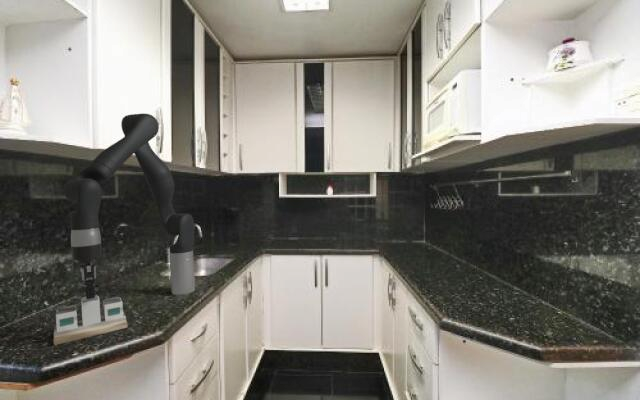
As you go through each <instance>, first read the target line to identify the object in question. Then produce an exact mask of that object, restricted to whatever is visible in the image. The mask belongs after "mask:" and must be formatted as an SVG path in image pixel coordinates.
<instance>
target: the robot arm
mask: <svg viewBox="0 0 640 400" xmlns="http://www.w3.org/2000/svg"><path fill="white" fill-rule="evenodd" d="M159 129H160V127H159V122H158V120H157V118H156V117H155V116H154V115H152V114H150V113H134V114H126V115H125V116H123V117H122V119H121V130H122V133H123V135H124V136H123V137H121V139H119V140H117V141H116V142H114V143H112V144H111V145H110V146H108V147H107V148H105V149H103V151H101V152H100V153H99V154H98V155H97V156H96V157H95V158H94V159H93V160H92V161H91V162H90V163H89V164H88V165H87V166H86V167H85V168H83V169H82V170H80V171H79V172H78V173H76V174H75V175H73V176H71V178H69V180H68V181H67V182H66V183H65V185H64V187H63V191H62V192H63V196H64V197H65V199H67V200H69V201H70V202H75V203H76V209H75V210H73V211H71V213H70V215H69V216H70V229H71V231H70V232H71V233H70V246H71V247H70V248H71V260H72V261H75V262H81V263H82V264H80V265H79V267H80V268H79V269H80V273H81V280H82V281H83V282H84V283H83V286H84V291H85V297H86V299H92V298H95V295H96V290H95V285H96V281H95V279H96V278H97V272H96V271H97V264H96V262H93V260H94V259H100V258H101V257H102V256H103V254H102V253H103V251H102V239H101V237H102V236H101V231H100V223H99V211H100V207H101V202H102V194H103V193H102V188H101V184H102V183H105V182H107V181H108V180H110V179H111V178H112V177H113V176H114V175H115V173H117V171H119V169H120V168H121V167H122V165H124V163H126V162H127V160H129V158H130V157H132V155H135V158H136V160H137V162H138V164H139V166H140V169H141V170H142V173H143V175H144V179H145V181H146V184H147V185H148V189H149V190H150V192H151V195H152V197H153V199H154V202H155V205H156V207H157V211H158V214H159V217H160V221H161V225H162V227H163V230H164V231H165V233H166V234H168V235H169V236H173V237H174V236H175V237H176V236H178V241H176V242H175V243H172V244H171V245H170V246H169V247H168V248H169V266H170V267H169V268H170V270H169V271H170V284H171V287H170V288H171V294H172V295H176V296H180V295H187V294H191V293H193V292H195V291H196V283H195V282H196V281H195V261H194V245H195V220H194V218H193V216H192V215H191V214H190V213H176V211H175V210H174V207H173V204H172V203H173V202H172V200H173V199H172V198H173V194H174V192H175V181H174V178H173V176H172V172H171V171H170V169H169V167H168V165H167V164H166V163H165V162H164V161H163V160H162V159H161V158H160V157H159V156H158V154H157V153H155V151H154V150H153V149H152V147H151V144H150V143H149V142H150V141H151V140H152V139H154V138H155V137H156V136H157V134H158V133H159Z"/></svg>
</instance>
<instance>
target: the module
mask: <svg viewBox="0 0 640 400" xmlns="http://www.w3.org/2000/svg"><path fill="white" fill-rule="evenodd" d="M80 301H81V302H80V304H81V321H82V322H83V326H87V325H91V324H95V323H100V322H101V301H100V297H99V295H97V294H95V298H92V299H86V296H84V297H82V298H81V299H80Z"/></svg>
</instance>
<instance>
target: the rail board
mask: <svg viewBox="0 0 640 400" xmlns="http://www.w3.org/2000/svg"><path fill="white" fill-rule="evenodd" d="M102 303H103V315H100V317H101V322H100V323H95V324H91V325H87V326H83V322H82V320H78V314H77V311H78V310H77V306H76V305H75V304H73V305H68V306H63V307H59V308H57V309H56V310H55V311H56V313H55V321H56V325H55V326H54V329H53V346H57V345H61V344H64V343H69V342H73V341H78V340H82V339H86V338H89V337H93V336H98V335H102V334H105V333H111V332H114V331H119V330H122V329H126V328H127V329H128V327H129V326H128V321H127V316H126V314H125V312H124V306H123V305H124V303H123V301H122V298H121V297H120V296H114V297H111V298H110V297H109V298H105V299H104V300H103V301H102Z"/></svg>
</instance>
